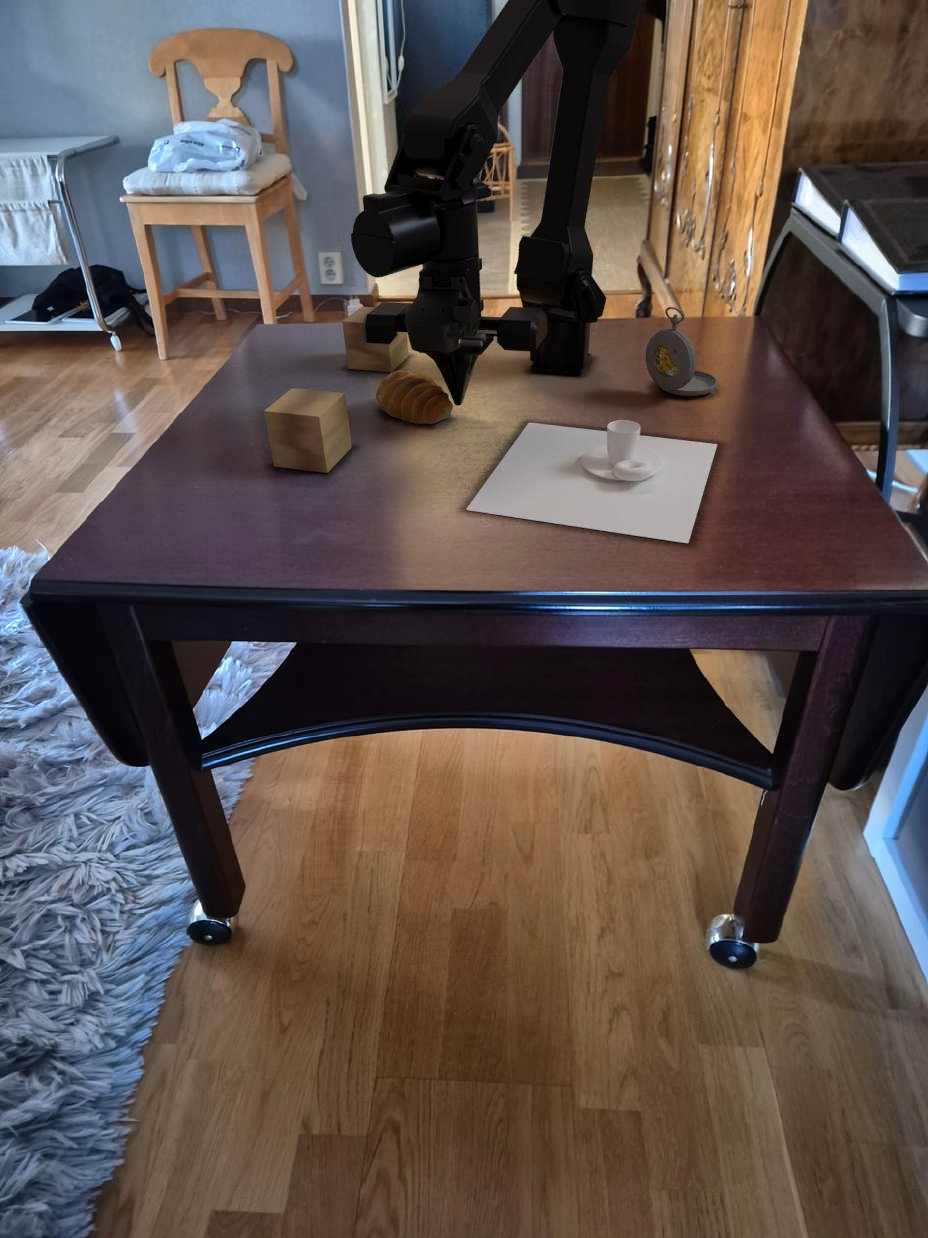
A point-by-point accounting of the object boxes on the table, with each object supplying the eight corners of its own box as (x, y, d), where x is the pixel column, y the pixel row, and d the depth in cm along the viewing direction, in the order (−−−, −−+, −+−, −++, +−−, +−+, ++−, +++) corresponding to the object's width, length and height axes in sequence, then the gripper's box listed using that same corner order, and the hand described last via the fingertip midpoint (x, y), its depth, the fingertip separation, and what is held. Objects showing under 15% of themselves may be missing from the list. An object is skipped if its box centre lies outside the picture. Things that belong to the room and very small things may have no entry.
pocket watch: (719, 380, 99) (732, 292, 93) (711, 407, 93) (724, 315, 87) (649, 374, 102) (657, 288, 96) (637, 400, 96) (645, 310, 89)
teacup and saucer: (653, 493, 78) (658, 453, 76) (569, 482, 80) (571, 442, 78) (669, 453, 85) (673, 414, 82) (591, 443, 87) (593, 406, 85)
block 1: (352, 447, 88) (345, 392, 85) (327, 473, 84) (319, 416, 80) (300, 441, 90) (291, 387, 86) (273, 466, 86) (263, 410, 82)
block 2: (408, 356, 110) (405, 309, 106) (391, 372, 105) (387, 324, 102) (366, 352, 112) (361, 306, 108) (347, 368, 107) (341, 320, 103)
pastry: (468, 415, 94) (467, 382, 92) (421, 434, 90) (418, 400, 88) (416, 393, 100) (413, 361, 97) (369, 410, 96) (366, 377, 94)
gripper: (331, 273, 80) (352, 427, 90) (521, 278, 75) (523, 441, 85) (375, 245, 89) (390, 388, 98) (549, 248, 84) (547, 399, 93)
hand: (458, 404), depth 93 cm, fingers closed
